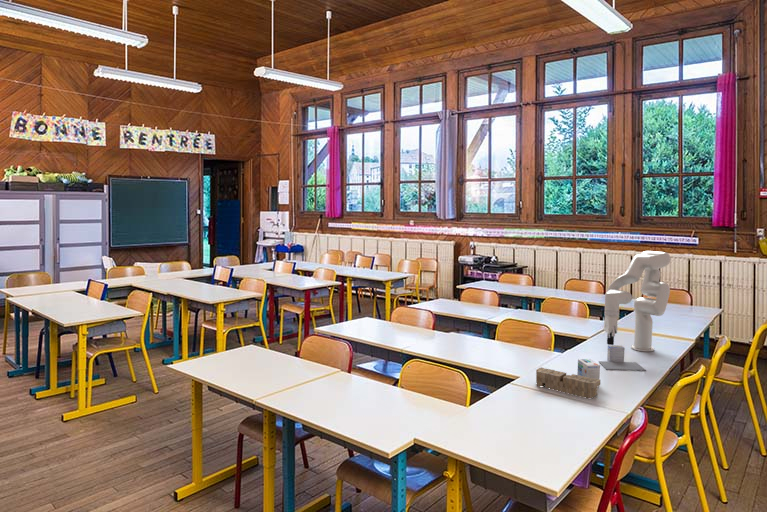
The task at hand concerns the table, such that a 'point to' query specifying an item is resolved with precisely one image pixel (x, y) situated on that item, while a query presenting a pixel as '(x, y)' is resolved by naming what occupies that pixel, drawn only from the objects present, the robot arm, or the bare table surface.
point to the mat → (621, 365)
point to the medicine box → (615, 353)
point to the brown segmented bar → (567, 382)
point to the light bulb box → (588, 368)
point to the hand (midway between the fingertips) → (610, 344)
